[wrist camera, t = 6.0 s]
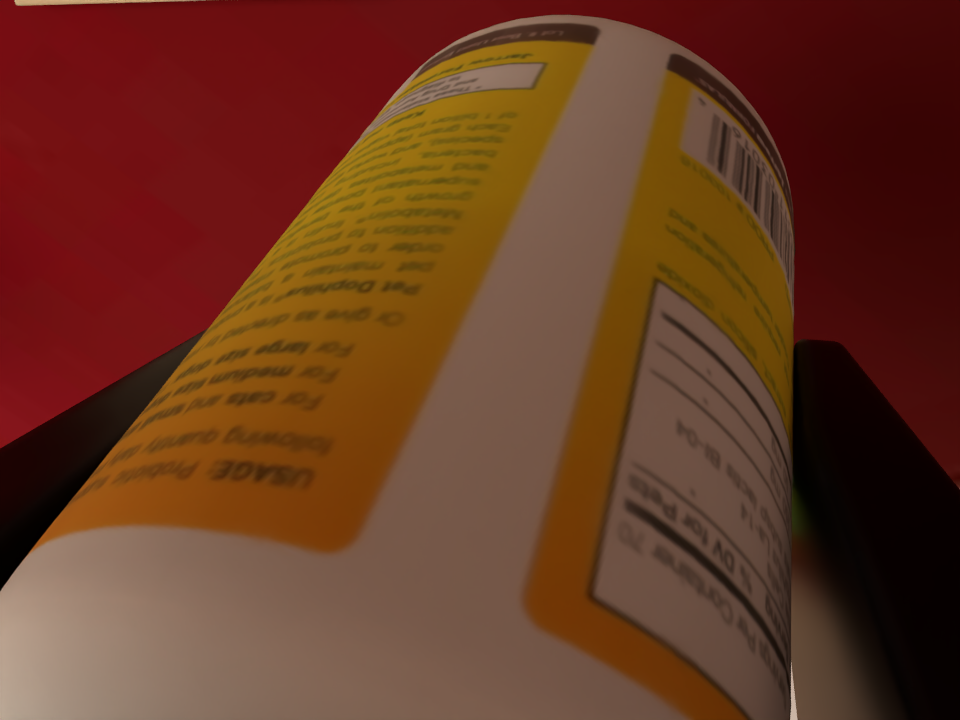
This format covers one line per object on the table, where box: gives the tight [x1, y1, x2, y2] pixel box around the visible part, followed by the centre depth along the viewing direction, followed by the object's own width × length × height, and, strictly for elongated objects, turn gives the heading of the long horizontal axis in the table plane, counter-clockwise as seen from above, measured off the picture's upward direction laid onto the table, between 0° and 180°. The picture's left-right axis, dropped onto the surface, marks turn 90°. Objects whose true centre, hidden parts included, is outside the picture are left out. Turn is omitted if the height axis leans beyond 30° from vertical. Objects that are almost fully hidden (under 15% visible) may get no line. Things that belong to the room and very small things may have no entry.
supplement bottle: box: [0, 15, 795, 720], centre depth 7 cm, size 6×6×10 cm
